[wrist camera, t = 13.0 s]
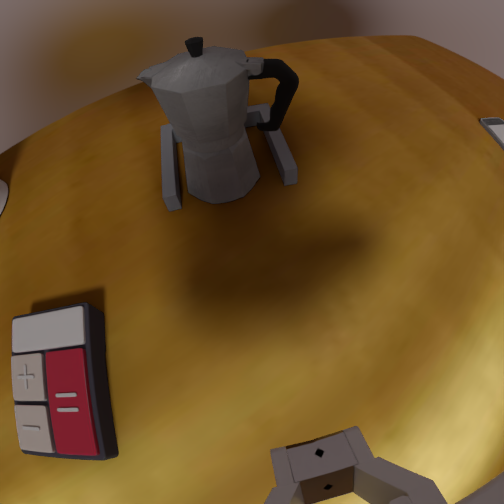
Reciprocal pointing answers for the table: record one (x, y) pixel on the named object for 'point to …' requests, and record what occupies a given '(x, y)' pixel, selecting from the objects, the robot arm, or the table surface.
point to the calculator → (62, 384)
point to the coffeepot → (217, 114)
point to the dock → (253, 116)
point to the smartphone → (494, 129)
